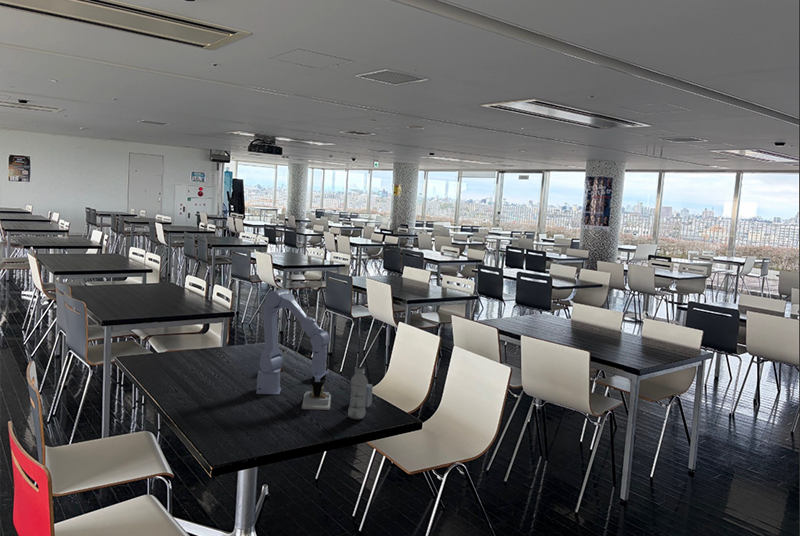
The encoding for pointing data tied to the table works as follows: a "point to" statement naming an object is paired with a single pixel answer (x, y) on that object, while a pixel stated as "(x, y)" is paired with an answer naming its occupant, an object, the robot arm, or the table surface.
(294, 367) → the table surface
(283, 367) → the food container
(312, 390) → the keyed peg
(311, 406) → the keyed cradle
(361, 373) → the plastic bottle
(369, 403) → the medicine box
